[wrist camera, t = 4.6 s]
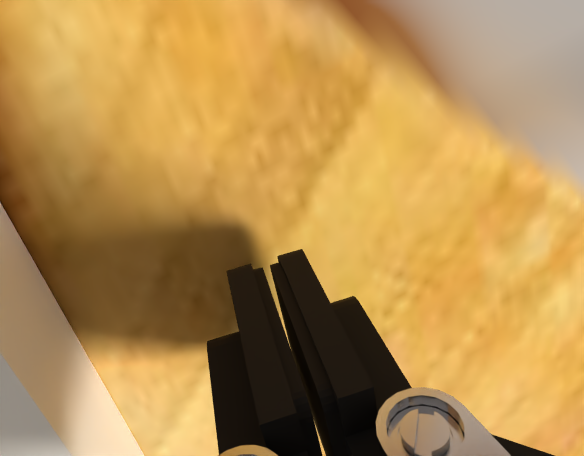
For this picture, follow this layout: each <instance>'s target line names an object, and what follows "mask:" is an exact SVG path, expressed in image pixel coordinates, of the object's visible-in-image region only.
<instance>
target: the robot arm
mask: <svg viewBox="0 0 584 456" xmlns="http://www.w3.org/2000/svg"><path fill="white" fill-rule="evenodd" d="M278 262H279V263H276V264H272V265H270V268H271V272H272V276H273V280H274V284H275V288H276V292H277V296H278V300H279V304H280V308H281V312H282V316H283V320H284V324H285V328H286V331H287V335H288V339H289V343H290V346H289V343H288V340H287V337H286V334H285V331H284V328H283V326H282V323H281V320H280V317H279V314H278V311H277V308H276V305H275V302H274V299H273V297H272V294H271V291H270V288H269V285H268V282H267V279H266V276H265V273H264V270H263V268H259V269H255V270H253V269H252V266H251V264H249V265H245V266H242V267H238V268H235V269H231V270H228V271H227V276H228V281H229V285H230V290H231V295H232V299H233V304H234V309H235V313H236V318H237V323H238V328H239V332H235V333H232V334H229V335H226V336H223V337H219V338H216V339H213V340H210V341H207V353H208V362H209V370H210V379H211V388H212V397H213V405H214V414H215V423H216V432H217V440H218V449H219V456H322V452H321V448H320V444H319V440H318V436H317V432H316V427H317V430H318V433H319V436H320V439H321V442H322V445H323V448H324V451H325V454H326V456H554V455H551V454H548V453H545V452H542V451H539V450H536V449H533V448H530V447H527V446H524V445H521V444H518V443H515V442H512V441H509V440H507V439H504V438H501V437H498V436H495V435H492V434H490V433H489V432H488V431H487V430H486V429H485V427H484V426H483V425H482V424H481V423H480V422H479V421H478V420H477V419H476V418H475V417H474V416H473V415H472V414H471V413H470V412H469V411H468V409H467V408H466V407H465V406H464V405H462V404H461V403H460V402H459V401H458V400H456V399H455V398H454V397H453V396H450V395H448V394H446V393H444V392H442V391H439V390H435V389H430V388H411V386H410V384H409V383H408V381H407V379H406V378H405V376H404V375H403V373H402V371H401V370H400V368H399V366H398V365H397V363H396V361H395V360H394V358H393V357H392V355H391V353H390V352H389V350H388V348H387V347H386V345H385V344H384V342H383V340H382V339H381V337H380V335H379V334H378V332H377V330H376V329H375V327H374V326H373V324H372V322H371V321H370V319H369V317H368V316H367V314H366V312H365V311H364V309H363V308H362V306H361V304H360V303H359V301H358V300H357V299H356V297H354V296H352V297H349V298H346V299H343V300H339V301H336V302H333V303H330V302H329V300H328V298H327V296H326V294H325V292H324V290H323V288H322V286H321V284H320V282H319V280H318V279H317V277H316V275H315V273H314V271H313V269H312V267H311V265H310V263H309V261H308V259H307V257H306V255H305V253H304V252H303V250H302V249H300V250H297V251H293V252H290V253H286V254H283V255H279V256H278ZM290 347H291V349H290ZM291 351H292V352H291ZM314 421H315V423H314ZM315 424H316V427H315Z"/></svg>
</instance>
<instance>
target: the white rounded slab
mask: <svg viewBox="0 0 584 456" xmlns="http://www.w3.org/2000/svg"><path fill="white" fill-rule="evenodd" d="M0 456H144V454H143V452H142V450H141V449H140V447H139V445H138V443H137V442H136V440H135V438H134V436H133V435H132V433H131V431H130V429H129V428H128V426H127V424H126V422H125V421H124V419H123V417H122V415H121V414H120V412H119V410H118V408H117V407H116V405H115V403H114V401H113V400H112V398H111V396H110V394H109V392H108V391H107V389H106V387H105V385H104V384H103V382H102V380H101V378H100V377H99V375H98V373H97V371H96V370H95V368H94V366H93V364H92V363H91V361H90V359H89V357H88V356H87V354H86V352H85V350H84V349H83V347H82V345H81V343H80V342H79V340H78V338H77V336H76V334H75V333H74V331H73V329H72V327H71V326H70V324H69V322H68V320H67V319H66V317H65V315H64V313H63V312H62V310H61V308H60V306H59V305H58V303H57V301H56V299H55V298H54V296H53V294H52V292H51V291H50V289H49V287H48V285H47V284H46V282H45V280H44V278H43V277H42V275H41V273H40V271H39V269H38V268H37V266H36V264H35V262H34V261H33V259H32V257H31V255H30V254H29V252H28V250H27V248H26V247H25V245H24V243H23V241H22V240H21V238H20V236H19V234H18V233H17V231H16V229H15V227H14V226H13V224H12V222H11V220H10V219H9V217H8V215H7V213H6V211H5V210H4V208H3V206H2V204H1V203H0Z"/></svg>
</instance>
